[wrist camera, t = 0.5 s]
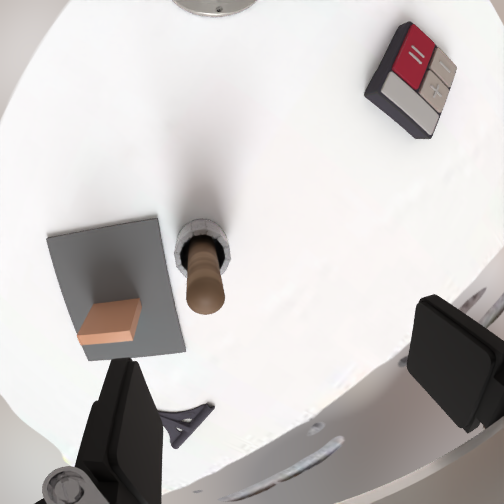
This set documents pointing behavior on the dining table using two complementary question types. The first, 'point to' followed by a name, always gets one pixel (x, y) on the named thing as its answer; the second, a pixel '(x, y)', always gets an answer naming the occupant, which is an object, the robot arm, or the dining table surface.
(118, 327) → the tile
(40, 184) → the dining table surface
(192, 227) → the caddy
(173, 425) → the bracket
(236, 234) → the dining table surface
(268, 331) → the dining table surface
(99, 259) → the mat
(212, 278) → the rod
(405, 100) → the calculator
